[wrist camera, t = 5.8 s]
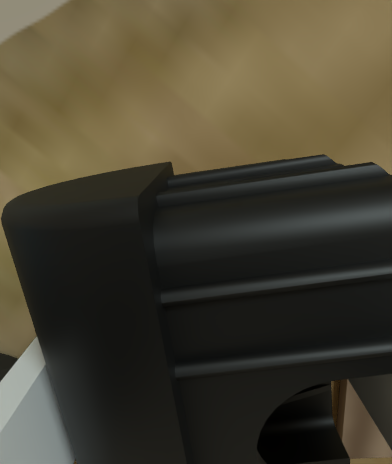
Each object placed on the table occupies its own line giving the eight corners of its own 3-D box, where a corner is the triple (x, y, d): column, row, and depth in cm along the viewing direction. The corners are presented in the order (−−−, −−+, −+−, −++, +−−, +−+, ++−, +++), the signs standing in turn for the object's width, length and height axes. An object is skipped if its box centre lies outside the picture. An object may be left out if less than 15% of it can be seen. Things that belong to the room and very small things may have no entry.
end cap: (77, 173, 11) (-106, 233, 4) (302, 140, 10) (475, 151, 4) (137, 423, 13) (82, 693, 7) (316, 403, 13) (432, 665, 7)
